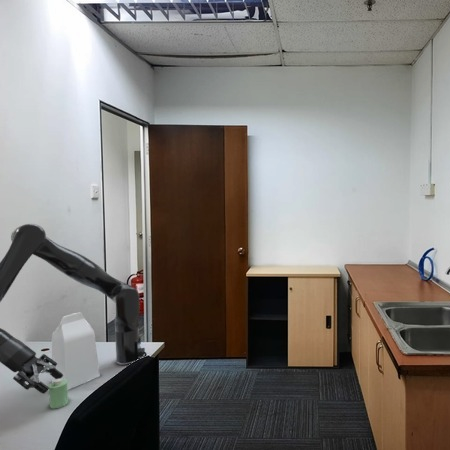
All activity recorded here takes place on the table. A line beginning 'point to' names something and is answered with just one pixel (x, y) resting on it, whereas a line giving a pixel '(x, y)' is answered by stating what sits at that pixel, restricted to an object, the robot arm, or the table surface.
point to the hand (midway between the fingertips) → (54, 384)
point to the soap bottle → (58, 393)
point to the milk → (75, 350)
